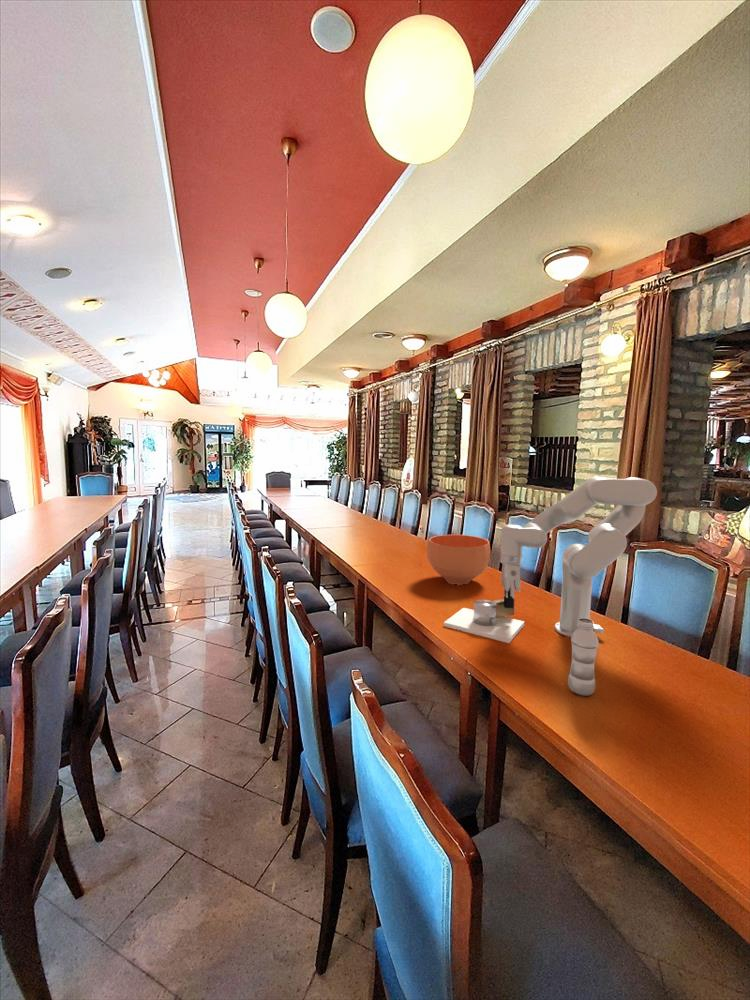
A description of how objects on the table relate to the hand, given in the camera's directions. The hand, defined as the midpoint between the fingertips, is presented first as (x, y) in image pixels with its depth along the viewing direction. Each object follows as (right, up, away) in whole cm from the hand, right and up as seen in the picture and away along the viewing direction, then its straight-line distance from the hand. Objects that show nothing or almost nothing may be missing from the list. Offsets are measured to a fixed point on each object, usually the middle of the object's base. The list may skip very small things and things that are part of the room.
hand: (508, 607), depth 159 cm
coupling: (-5, -5, +2) cm, 7 cm away
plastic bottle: (+6, -12, -43) cm, 45 cm away
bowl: (-9, -1, +53) cm, 54 cm away
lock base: (-9, -7, 0) cm, 11 cm away
